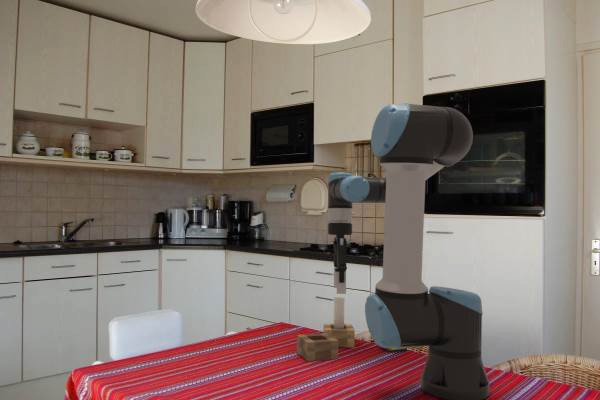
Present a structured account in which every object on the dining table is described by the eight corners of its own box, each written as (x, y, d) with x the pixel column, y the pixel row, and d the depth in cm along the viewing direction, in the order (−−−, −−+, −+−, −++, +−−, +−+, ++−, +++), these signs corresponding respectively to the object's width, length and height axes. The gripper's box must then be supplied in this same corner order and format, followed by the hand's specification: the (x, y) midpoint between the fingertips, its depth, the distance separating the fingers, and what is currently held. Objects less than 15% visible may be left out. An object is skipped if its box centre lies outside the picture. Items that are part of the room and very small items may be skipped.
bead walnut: (338, 358, 140) (338, 340, 140) (307, 361, 137) (308, 342, 137) (325, 350, 148) (325, 333, 148) (296, 352, 145) (297, 335, 145)
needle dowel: (344, 344, 155) (344, 299, 155) (333, 344, 155) (334, 298, 155) (343, 342, 158) (344, 297, 158) (333, 341, 158) (333, 297, 158)
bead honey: (354, 347, 152) (354, 330, 152) (324, 346, 152) (324, 330, 152) (351, 339, 161) (351, 324, 161) (323, 339, 161) (323, 323, 161)
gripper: (356, 222, 145) (355, 296, 144) (348, 222, 170) (348, 285, 169) (330, 221, 145) (329, 296, 144) (326, 222, 170) (325, 285, 169)
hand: (339, 290), depth 156 cm, fingers open, 13 cm apart
